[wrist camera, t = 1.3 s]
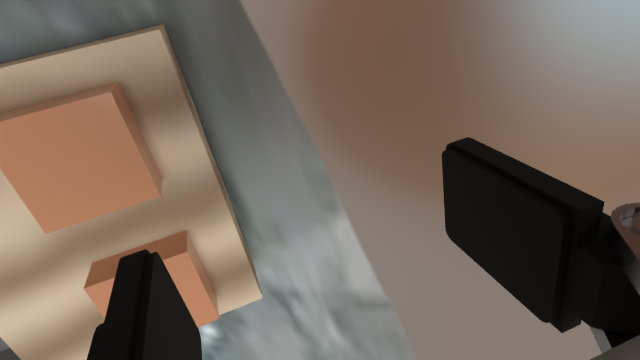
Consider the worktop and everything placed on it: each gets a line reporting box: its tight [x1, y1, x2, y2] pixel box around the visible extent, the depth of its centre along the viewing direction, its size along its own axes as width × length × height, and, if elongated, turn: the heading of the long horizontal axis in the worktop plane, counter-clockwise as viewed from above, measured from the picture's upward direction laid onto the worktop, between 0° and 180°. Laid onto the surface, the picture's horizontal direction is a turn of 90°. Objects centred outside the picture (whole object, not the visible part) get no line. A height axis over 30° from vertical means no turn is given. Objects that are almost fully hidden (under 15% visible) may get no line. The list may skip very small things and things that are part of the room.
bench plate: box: [0, 24, 263, 360], centre depth 25 cm, size 20×16×5 cm
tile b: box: [84, 230, 219, 327], centre depth 25 cm, size 6×6×2 cm
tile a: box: [0, 82, 163, 234], centre depth 20 cm, size 6×6×2 cm
